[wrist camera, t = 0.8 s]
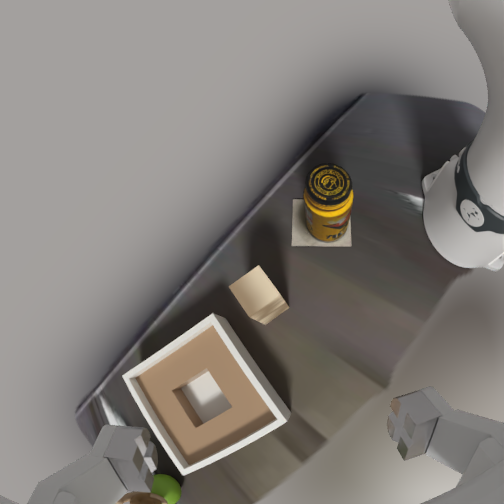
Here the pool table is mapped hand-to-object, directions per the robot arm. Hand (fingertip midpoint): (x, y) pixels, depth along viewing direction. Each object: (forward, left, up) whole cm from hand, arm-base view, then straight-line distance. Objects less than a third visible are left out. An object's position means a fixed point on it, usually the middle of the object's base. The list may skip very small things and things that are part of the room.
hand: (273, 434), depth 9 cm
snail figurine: (+28, +4, -32) cm, 43 cm away
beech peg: (-1, -11, -32) cm, 34 cm away
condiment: (-14, -16, -32) cm, 38 cm away
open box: (+13, -5, -32) cm, 35 cm away
